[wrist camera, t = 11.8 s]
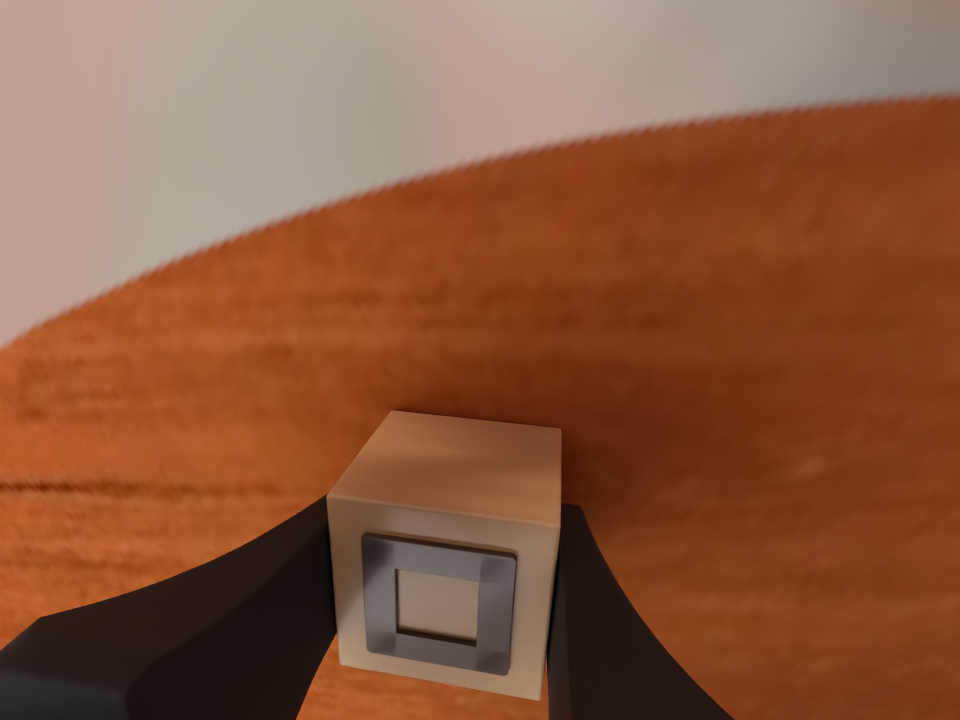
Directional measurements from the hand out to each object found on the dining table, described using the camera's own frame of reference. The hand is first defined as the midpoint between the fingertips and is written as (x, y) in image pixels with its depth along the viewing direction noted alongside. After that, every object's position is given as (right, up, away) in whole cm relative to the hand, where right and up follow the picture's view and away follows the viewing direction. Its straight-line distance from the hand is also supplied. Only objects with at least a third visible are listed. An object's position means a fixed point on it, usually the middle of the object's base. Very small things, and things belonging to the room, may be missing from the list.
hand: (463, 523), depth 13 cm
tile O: (0, 0, +1) cm, 1 cm away
